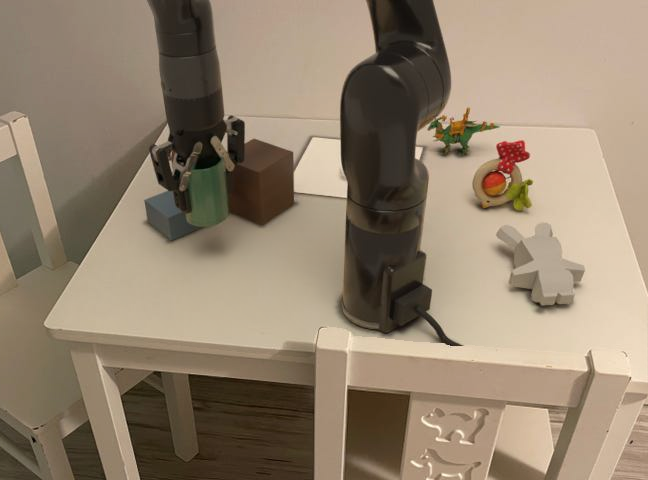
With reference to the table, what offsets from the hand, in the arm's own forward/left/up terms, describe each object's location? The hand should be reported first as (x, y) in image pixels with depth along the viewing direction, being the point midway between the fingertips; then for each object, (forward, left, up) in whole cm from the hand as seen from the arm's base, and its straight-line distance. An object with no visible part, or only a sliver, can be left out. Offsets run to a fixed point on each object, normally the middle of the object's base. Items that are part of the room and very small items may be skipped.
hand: (205, 202), depth 103 cm
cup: (0, 0, -2) cm, 2 cm away
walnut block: (+5, -13, -8) cm, 16 cm away
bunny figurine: (-35, -30, -8) cm, 47 cm away
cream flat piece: (+4, -33, -8) cm, 34 cm away
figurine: (-4, -50, -8) cm, 51 cm away
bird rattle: (-20, -41, -8) cm, 46 cm away
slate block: (+10, -1, -8) cm, 13 cm away
